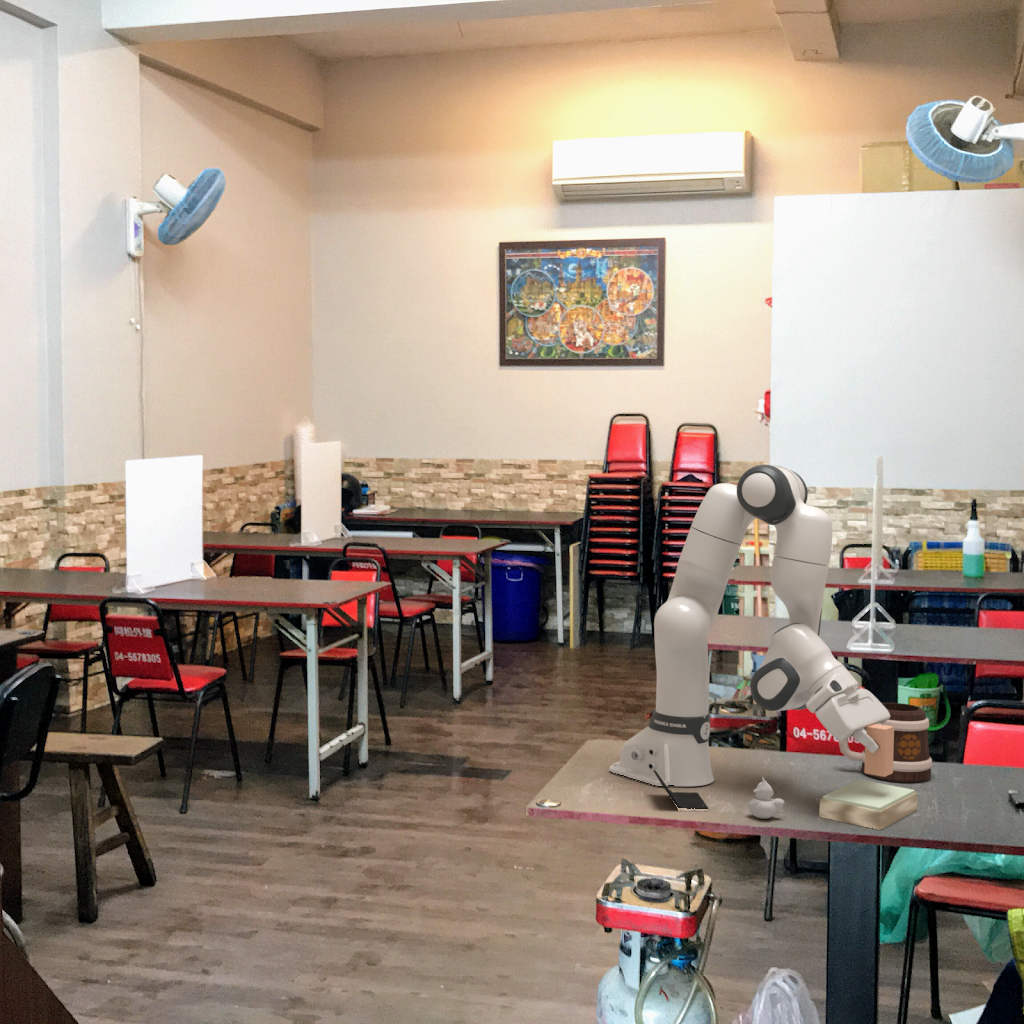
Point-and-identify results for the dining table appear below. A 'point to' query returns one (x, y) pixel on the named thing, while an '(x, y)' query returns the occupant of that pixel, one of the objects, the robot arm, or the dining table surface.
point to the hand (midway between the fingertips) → (882, 748)
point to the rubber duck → (765, 802)
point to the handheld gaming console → (684, 797)
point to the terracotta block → (880, 750)
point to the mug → (903, 745)
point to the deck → (868, 804)
